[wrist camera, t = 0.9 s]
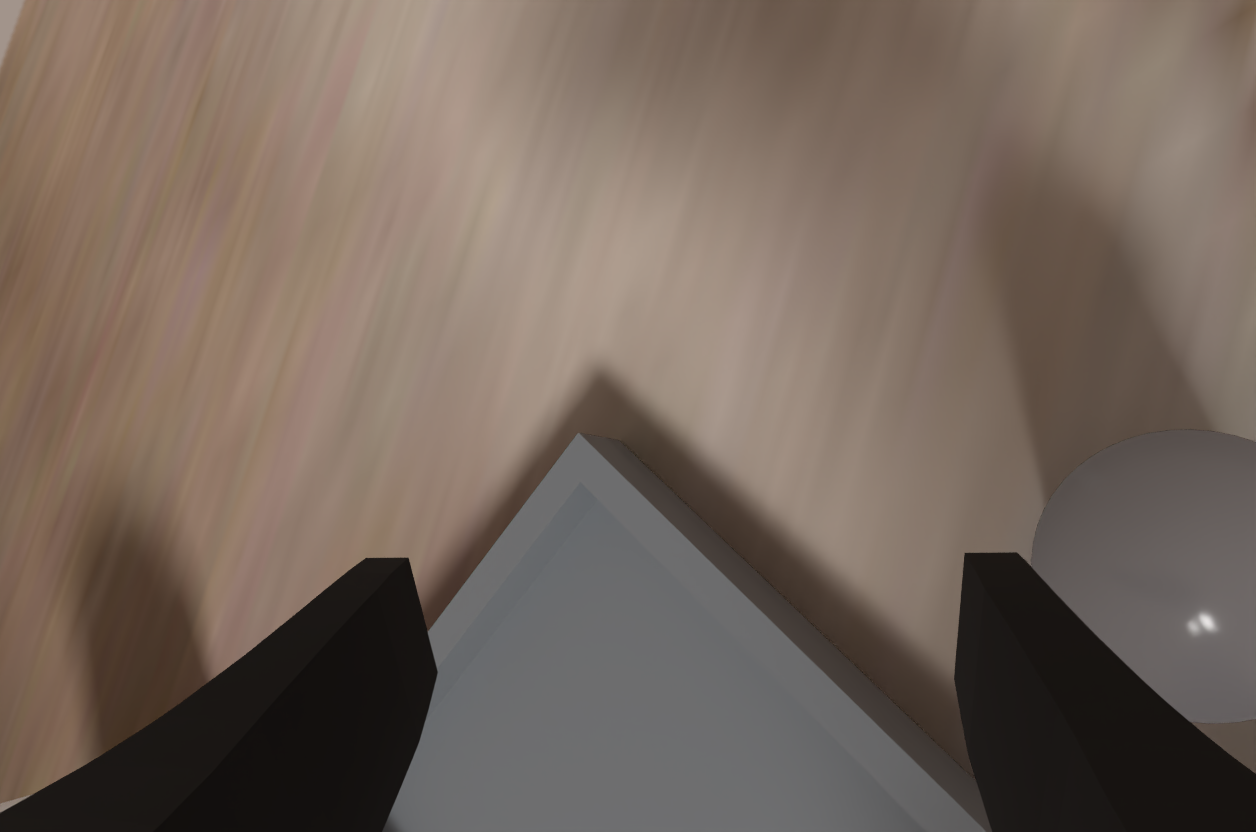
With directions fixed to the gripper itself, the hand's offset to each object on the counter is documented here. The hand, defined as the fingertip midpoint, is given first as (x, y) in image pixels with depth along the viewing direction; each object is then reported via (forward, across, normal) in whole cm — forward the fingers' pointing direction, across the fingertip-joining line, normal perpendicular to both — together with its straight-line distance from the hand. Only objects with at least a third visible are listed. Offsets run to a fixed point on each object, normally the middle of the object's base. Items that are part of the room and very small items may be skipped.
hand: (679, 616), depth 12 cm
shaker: (+10, -10, +6) cm, 15 cm away
